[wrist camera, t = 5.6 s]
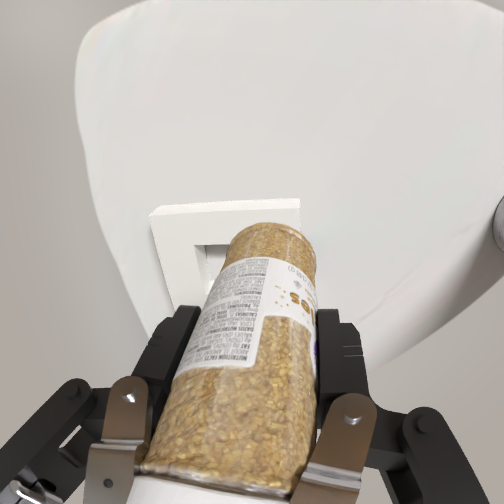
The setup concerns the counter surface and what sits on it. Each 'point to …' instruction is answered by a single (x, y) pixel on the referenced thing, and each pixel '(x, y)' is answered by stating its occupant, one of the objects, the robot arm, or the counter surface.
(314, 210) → the counter surface
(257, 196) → the counter surface
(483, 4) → the counter surface
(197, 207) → the housing
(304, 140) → the counter surface
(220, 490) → the sprinkles bottle
